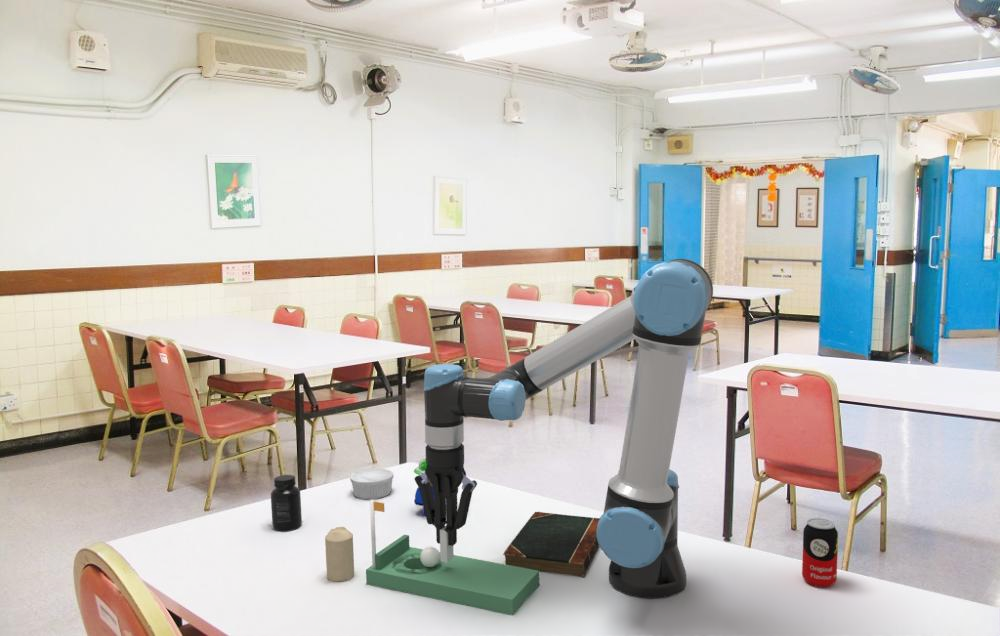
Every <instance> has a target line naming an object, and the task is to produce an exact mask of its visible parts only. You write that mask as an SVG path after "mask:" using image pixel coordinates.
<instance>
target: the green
mask: <svg viewBox="0 0 1000 636" xmlns="http://www.w3.org/2000/svg"><path fill="white" fill-rule="evenodd" d="M385 510H386V509H385V503H384V502H380V501H375V499H369V511H370V513H369V514H370V532H371V533H370V535H371V536H370V537H371V555H372V556H371V559H372V561H371V563H372V565H370V566H369V567H367V568H366V569H365V577H366V578H365V580H366V581H365V582H366V585H370V586H375V587H380V588H383V589H387V590H393V591H399V592H403V593H406V594H407V593H408V594H411V595H416V596H422V597H426V598H431V599H435V600H441V601H445V602H450V603H454V604H459V605H465V606H469V607H472V608H476V609H477V608H478V609H482V610H487V611H491V612H497V613H500V614H506V615H511V616H513V615H514V614H515V613H516V612H517V611H518V610H519V609H520V607H522V605H523V604H524V603H525V602H526V601H527V599H528V598H529V597H531V595H532V594H533V593H534V592H535V591H536V590H537V589H538V588H539V586H540V571H538V570H532V569H527V568H522V567H516V566H511V565H505V563H499V562H493V561H489V560H485V559H478V558H471V557H468V556H462V555H455V554H454V558H452V559H451V560H450V561H449V562H448V563H445V562H440V560H439V562H438V564H437V565H435V566H434V567H426V566H424V565H423V564H422V562H421V560H420V554H421V552H422V550H423V549H424V548H418V547H413V546H410V534H409V535H408V534H403V535H402V536H400V537H399V538H397V539H396V540H394V541H392V542H391V543H389V544H388V545H387V546H385V547H384V548H383V549H381V550H380V551H378V552H377V544H376V543H377V542H376V540H377V539H376V520H375V519H376V517H375V511H376V512H381V513H385ZM439 553H440V551H439Z"/></svg>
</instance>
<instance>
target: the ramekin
mask: <svg viewBox="0 0 1000 636" xmlns="http://www.w3.org/2000/svg"><path fill="white" fill-rule="evenodd" d="M393 479H394V472H393V471H391V470H389V469H386V468H366V469H362V470H358V471H356V472H353V473H352V474H351V475H350V479H349V480H350V482H351V485H352V486H351V487H352V490H353V493H354V495H355V496H356V498H358V499H362V500H378V499H382V498H385V497H387V496H388V495H390V494H391V491H392V486H393Z"/></svg>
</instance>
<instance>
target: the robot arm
mask: <svg viewBox="0 0 1000 636" xmlns="http://www.w3.org/2000/svg"><path fill="white" fill-rule="evenodd" d="M713 297H714V285H713V280H712V279H711V276H710V275H709V273H708V271H707V270H706V269H705V268H704V267H703V266H702V265H701V264H699V263H697V262H696V261H693V260H690V259H688V258H687V259H686V258H677V259H671V260H667V261H663V262H659V263H657V264H655V265H653V266H652V267H650V268H648V270H646V272H644V273H643V274H642V276H641V277H640V279H638V282H637V284H636V285H635V286H634V287H633V288H632V290H631V294H630V296H628V297H626V298H624V299H623V300H621V301H619V302H618V303H615V304H614V305H612V306H611V307H609V308H607V309H605V310H604V311H602V312H601V313H599V314H597V315H595V316H593V317H592V318H591V319H588V320H587V321H586V322H583V323H581V324H580V325H579V326H576V327H575V328H573V329H571V330H570V331H568V332H566V333H564V334H562V335H561V336H559V337H558V338H556V339H555V340H553V341H551V342H550V343H547V344H546V345H544V346H543V347H541V348H539V349H537V350H536V351H534V352H532V353H531V354H529V355H527V356H525V357H524V358H522V359H520V360H518V361H516V362H515V363H513V364H511V365H509V366H508V367H506V368H505V369H503V370H501V371H499V372H497V373H496V374H494V375H492V376H491V377H488V378H484V377H483V378H481V377H468V376H464V375H465V374H464V369H463V368H462V366H460V365H458V364H453V363H440V364H433V365H430V366H428V367H426V369H425V371H424V378H423V379H424V381H423V383H424V384H423V395H424V396H423V397H424V398H423V399H424V418H425V419H424V435H425V436H424V438H425V439H424V443H425V444H426V445H425V455H426V464H427V466H426V469H425V472H424V473H421V474H420V475H418V474H417V475H416V476H415V477H414V482H415V483H416V486H417V488H418V487H419V489H420V494H421V498H422V502H423V506H422V508H423V507H424V511H425V515H426V517H425V519H426V523H427V524H428V525H433V526H434V528H435V530H436V531H435V532H436V533H435V534H436V544H439V552H440V562H445V563H448V562H449V561H450V560H451V559H452V558H454V555H455V554H454V545H456V544H457V542H458V537H457V536H458V534H457V533H458V532H457V531H458V530H460V529H461V528H462V527H463V526H465V525H466V522H467V519H468V514H469V509H470V504H471V501H472V496H473V492H474V490H475V488H476V487H477V485H478V481H476V480H471V479H470V478H469V477H468V476H467V473H466V470H465V467H464V465H465V446H464V444H463V443H464V440H465V435H464V433H465V431H464V430H465V429H464V428H465V427H464V426H465V423H464V417H466V418H467V417H468V418H479V419H489V420H497V421H501V422H502V421H516V420H519V419H520V418H521V417H522V416H523V413H524V411H525V406H526V401H527V400H528V399H530V398H532V397H534V396H535V395H537V394H539V393H541V392H543V391H544V390H545V389H547V388H549V387H551V386H553V385H555V384H557V383H559V382H560V381H562V380H563V379H566V378H567V377H569V376H571V375H573V374H575V373H576V372H578V371H580V370H582V369H583V368H585V367H587V366H589V365H591V364H592V363H595V362H596V361H598V360H600V359H602V358H603V357H605V356H607V355H608V354H611V353H612V352H614V351H616V350H618V349H620V348H622V347H623V346H625V345H627V344H629V343H631V342H633V341H634V340H635V341H636V342H637V344H638V351H637V358H636V363H635V364H636V365H635V370H634V377H633V383H632V388H631V393H630V401H629V408H628V414H627V419H626V427H625V432H624V438H623V444H622V445H623V446H622V450H621V451H622V452H621V457H620V462H619V463H620V464H619V468H618V469H619V470H618V473H617V474H615V475H614V476H613V477H611V478H610V479H609V480H608V485H607V490H606V496H605V502H604V508H603V513H602V514H601V516H600V517H599V518H600V519H599V521H598V524H597V540H598V544H599V548H600V549H601V551H602V552H603V553H604V555H605V556H606V558H608V559H609V560H610V564H609V566H608V567H609V568H608V581H609V584H610V585H611V586H612V587H613V588H614V589H616V590H617V591H619V592H621V593H623V594H625V595H628V596H632V597H637V598H644V599H662V598H668V597H672V596H675V595H678V594H679V593H681V592H683V591H684V590H685V588H687V587H686V586H687V571H686V568H685V563H684V562H683V558H682V555H681V553H680V549H679V545H678V533H679V532H678V526H679V525H678V523H679V522H678V519H679V518H678V517H679V516H678V515H679V513H678V512H679V489H680V485H679V479H678V474H677V473H676V472H675V471H674V470H673V469H670V467H671V460H672V456H673V455H672V454H673V451H674V450H673V449H674V444H675V437H676V432H677V427H678V426H677V425H678V420H679V415H680V408H681V403H682V399H683V398H682V397H683V392H684V386H685V385H684V384H685V381H686V375H687V367H688V362H689V361H688V360H689V357H690V354H691V352H693V351H695V350H696V349H697V348H699V347H700V346H701V340H702V335H703V330H704V324H705V317H706V313H707V310H708V309H709V307H710V305H711V302H712V301H713ZM429 481H430V482H431V484H432V485H433V493H432V489H431V485H430V482H429ZM461 484H462V485H461ZM460 486H461V490H462V491H461V495H460V498H459V504H458V494H459V487H460ZM433 495H434V497H433Z"/></svg>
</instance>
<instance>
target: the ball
mask: <svg viewBox="0 0 1000 636" xmlns="http://www.w3.org/2000/svg"><path fill="white" fill-rule="evenodd" d="M422 549H423V550H422V552H421V554H420V560H421V562H422V564H423V565H424V566H426V567H434V566H435V565H437V564H438V562H439V560H440V553H439V552H440V550H438V548H436V547H434V546H430V545H429V546H426V547H424V548H422Z"/></svg>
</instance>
